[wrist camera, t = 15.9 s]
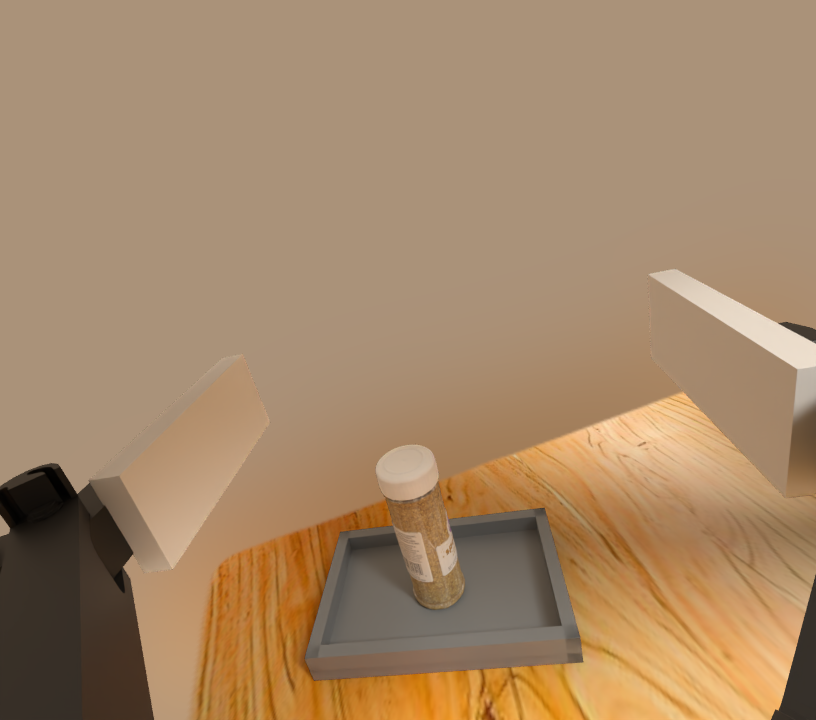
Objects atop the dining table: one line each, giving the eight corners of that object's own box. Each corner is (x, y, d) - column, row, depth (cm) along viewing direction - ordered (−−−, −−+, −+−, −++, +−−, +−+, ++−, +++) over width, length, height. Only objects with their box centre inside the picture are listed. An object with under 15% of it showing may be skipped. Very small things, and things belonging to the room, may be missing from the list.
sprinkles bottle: (476, 594, 39) (444, 462, 34) (427, 622, 38) (386, 489, 32) (450, 557, 43) (418, 434, 38) (405, 582, 42) (365, 458, 36)
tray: (547, 528, 45) (544, 507, 44) (583, 662, 33) (580, 637, 32) (347, 550, 48) (340, 531, 47) (314, 680, 36) (304, 658, 35)
